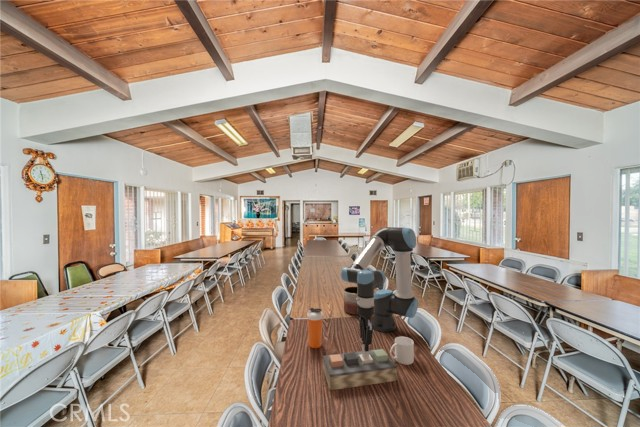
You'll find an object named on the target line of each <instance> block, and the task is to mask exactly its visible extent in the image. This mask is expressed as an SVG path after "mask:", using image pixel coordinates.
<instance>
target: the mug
mask: <svg viewBox="0 0 640 427" xmlns="http://www.w3.org/2000/svg"><path fill="white" fill-rule="evenodd" d="M414 343H415V342H414V340H413V339H412V338H410V337H407V336H402V335H401V336H396V337H395V338H394V344H392V346H391V347H390V349H389V350H390V351H389V356H390V357H391V359H393V360H395V361H396V362H397V363H398V364H402V365H404V366H405V365H406V366H408V365H412V364H413V363H414V361H415V354H414V352H415V350H414V348H415V347H414V346H415V344H414ZM393 350H394V355H393Z"/></svg>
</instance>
